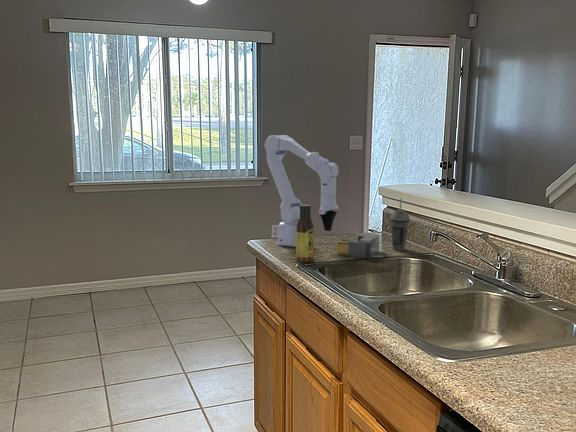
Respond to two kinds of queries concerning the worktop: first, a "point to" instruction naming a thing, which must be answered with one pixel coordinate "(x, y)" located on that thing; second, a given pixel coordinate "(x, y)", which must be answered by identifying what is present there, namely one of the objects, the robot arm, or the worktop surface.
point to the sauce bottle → (305, 235)
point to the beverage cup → (399, 228)
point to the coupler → (364, 246)
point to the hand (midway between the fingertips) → (327, 230)
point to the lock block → (343, 247)
